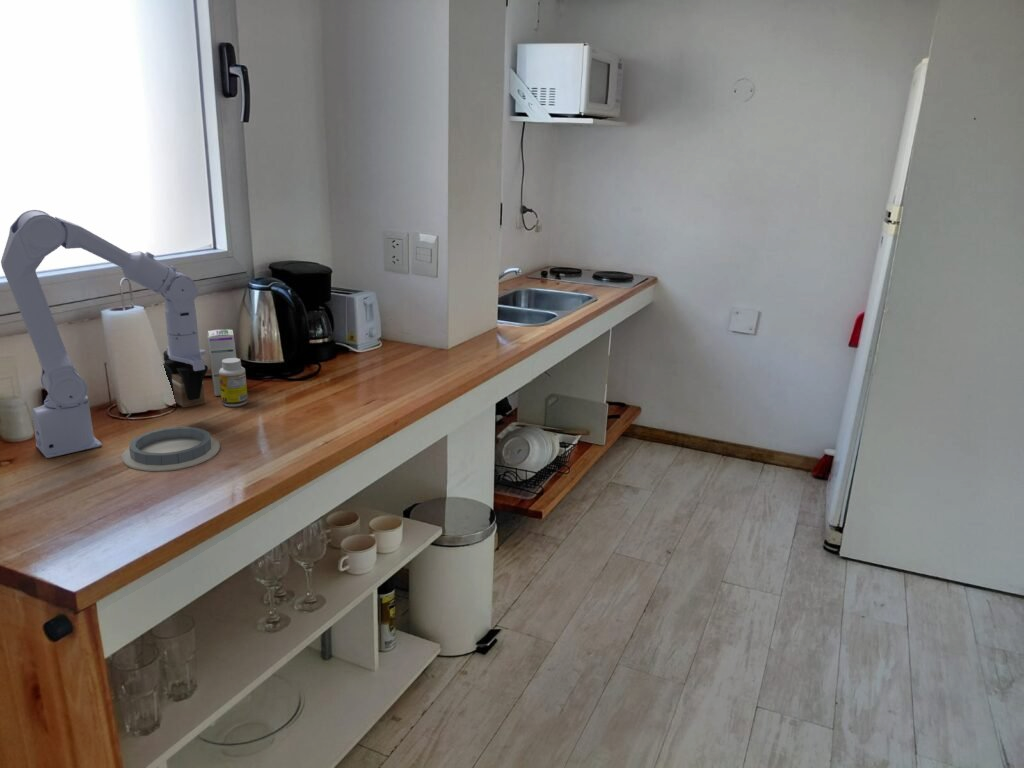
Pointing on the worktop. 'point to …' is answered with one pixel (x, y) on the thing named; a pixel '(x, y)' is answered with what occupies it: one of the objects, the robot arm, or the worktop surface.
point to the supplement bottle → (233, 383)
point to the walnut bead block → (184, 392)
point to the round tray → (170, 449)
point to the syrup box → (220, 353)
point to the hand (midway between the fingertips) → (189, 395)
